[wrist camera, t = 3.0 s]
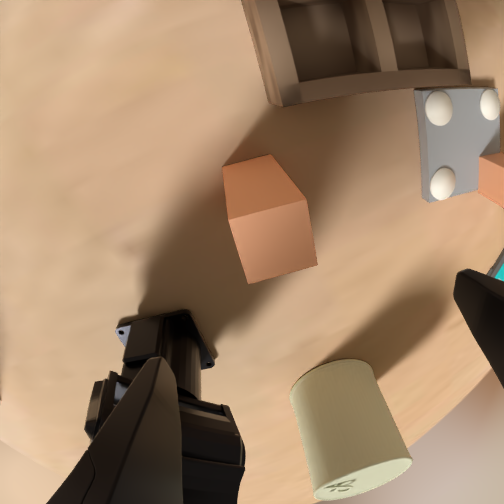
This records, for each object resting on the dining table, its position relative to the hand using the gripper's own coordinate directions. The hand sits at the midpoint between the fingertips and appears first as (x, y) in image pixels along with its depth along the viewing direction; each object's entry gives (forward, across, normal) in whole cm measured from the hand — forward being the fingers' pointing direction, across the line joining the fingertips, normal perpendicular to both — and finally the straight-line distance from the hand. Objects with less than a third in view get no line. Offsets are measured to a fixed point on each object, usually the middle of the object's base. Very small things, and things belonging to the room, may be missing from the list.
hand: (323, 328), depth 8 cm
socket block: (+13, -8, -11) cm, 18 cm away
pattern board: (+13, -16, -1) cm, 20 cm away
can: (+13, -3, +23) cm, 26 cm away
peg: (+13, 0, 0) cm, 13 cm away
